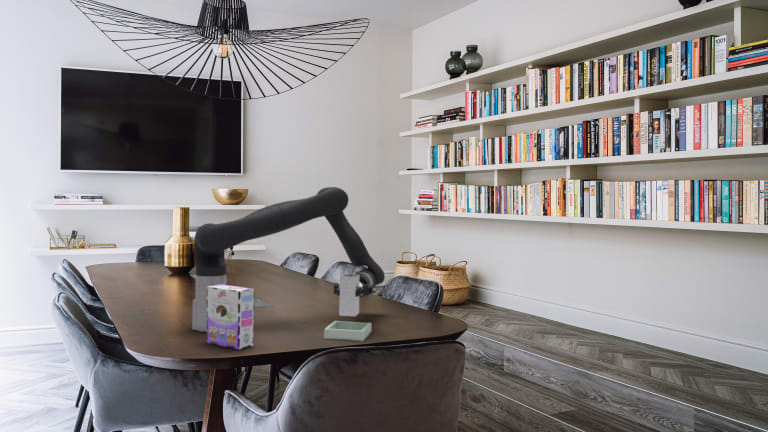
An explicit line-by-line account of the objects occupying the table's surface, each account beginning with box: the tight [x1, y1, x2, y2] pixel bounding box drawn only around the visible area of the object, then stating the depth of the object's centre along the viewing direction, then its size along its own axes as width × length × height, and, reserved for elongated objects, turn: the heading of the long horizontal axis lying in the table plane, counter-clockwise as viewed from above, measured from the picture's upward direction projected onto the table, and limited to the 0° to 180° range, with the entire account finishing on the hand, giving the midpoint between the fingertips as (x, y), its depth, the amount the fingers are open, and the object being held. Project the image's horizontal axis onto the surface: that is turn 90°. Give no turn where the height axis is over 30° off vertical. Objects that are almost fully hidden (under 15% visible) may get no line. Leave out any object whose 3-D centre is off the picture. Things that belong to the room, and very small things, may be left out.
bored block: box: [338, 273, 360, 317], centre depth 176 cm, size 5×5×12 cm
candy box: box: [206, 284, 255, 351], centre depth 162 cm, size 14×6×16 cm, turn 56°
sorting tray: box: [323, 320, 372, 343], centre depth 176 cm, size 12×12×3 cm
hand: (347, 292), depth 173 cm, fingers closed on bored block, 5 cm apart
